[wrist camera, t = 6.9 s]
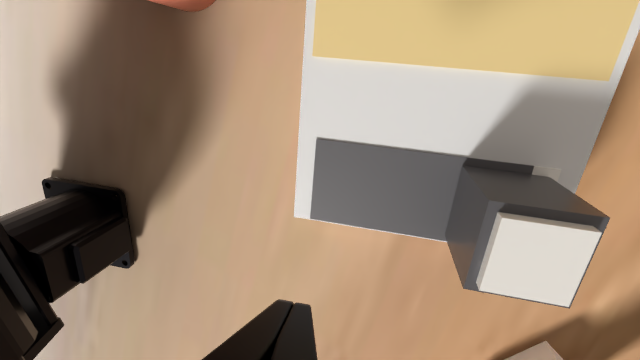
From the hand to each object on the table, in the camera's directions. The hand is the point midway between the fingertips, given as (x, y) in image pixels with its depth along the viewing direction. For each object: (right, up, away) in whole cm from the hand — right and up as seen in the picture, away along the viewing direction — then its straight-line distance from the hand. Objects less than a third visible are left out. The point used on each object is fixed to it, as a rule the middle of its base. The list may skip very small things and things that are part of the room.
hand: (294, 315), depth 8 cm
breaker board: (+7, +8, +9) cm, 14 cm away
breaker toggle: (+10, +2, +9) cm, 13 cm away
